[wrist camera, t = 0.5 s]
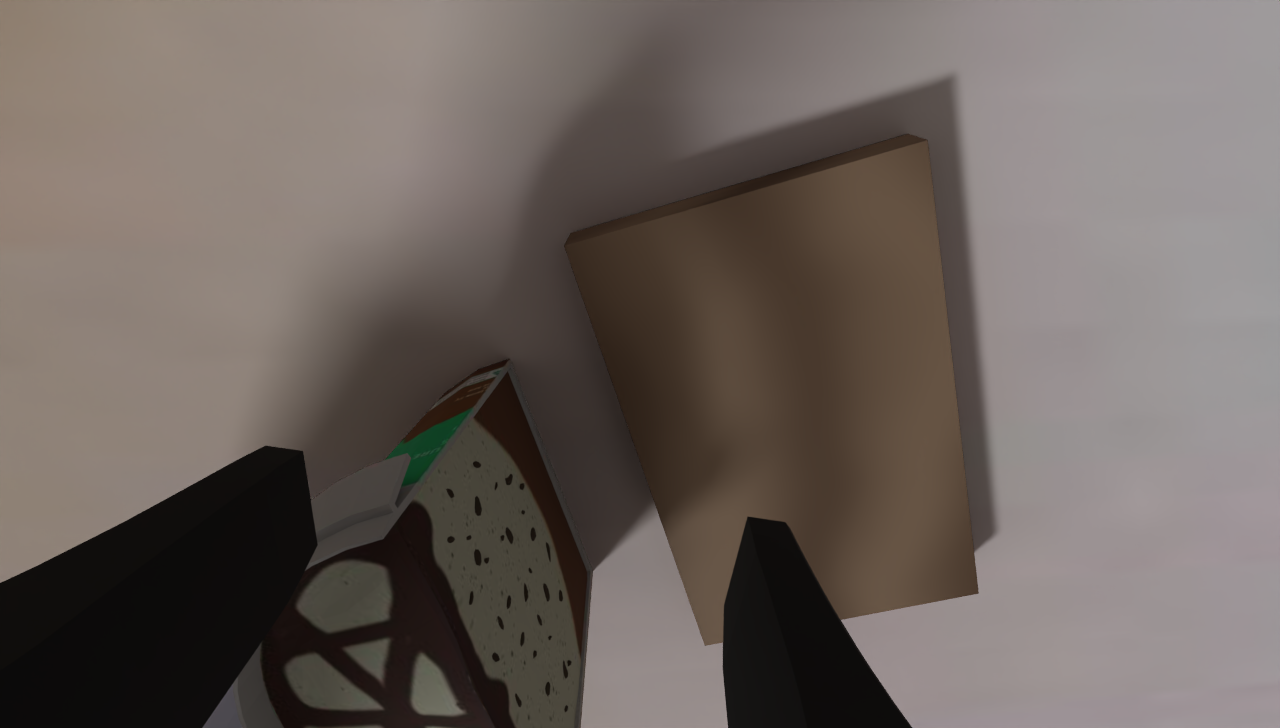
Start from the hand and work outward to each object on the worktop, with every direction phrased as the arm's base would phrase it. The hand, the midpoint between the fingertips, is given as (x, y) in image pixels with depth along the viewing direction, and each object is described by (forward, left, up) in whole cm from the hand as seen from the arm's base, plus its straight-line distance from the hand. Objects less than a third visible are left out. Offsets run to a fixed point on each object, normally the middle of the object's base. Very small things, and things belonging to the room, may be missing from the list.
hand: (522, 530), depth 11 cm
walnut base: (+5, -6, -11) cm, 14 cm away
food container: (-6, -6, -11) cm, 14 cm away
